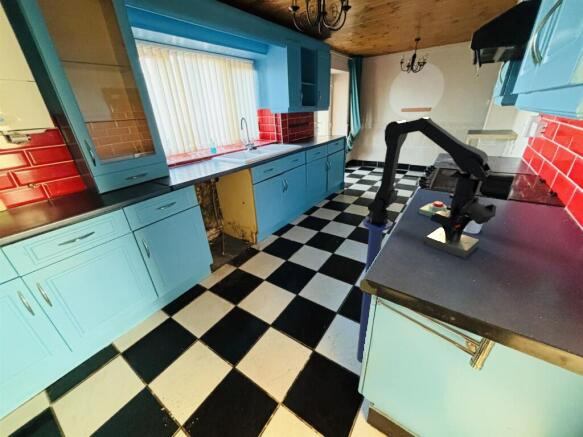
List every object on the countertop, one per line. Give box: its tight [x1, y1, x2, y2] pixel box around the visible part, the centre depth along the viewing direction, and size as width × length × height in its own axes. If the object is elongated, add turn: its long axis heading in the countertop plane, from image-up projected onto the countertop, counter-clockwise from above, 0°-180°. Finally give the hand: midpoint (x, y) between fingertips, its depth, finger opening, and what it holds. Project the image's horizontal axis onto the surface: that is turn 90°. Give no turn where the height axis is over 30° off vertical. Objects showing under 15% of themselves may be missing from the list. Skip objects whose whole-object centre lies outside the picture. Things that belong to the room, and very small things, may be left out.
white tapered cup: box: [463, 220, 484, 234], centre depth 88 cm, size 7×7×7 cm
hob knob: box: [445, 225, 464, 241], centre depth 79 cm, size 4×4×4 cm
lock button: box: [433, 200, 445, 208], centre depth 102 cm, size 4×4×2 cm
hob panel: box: [425, 227, 480, 259], centre depth 80 cm, size 12×10×3 cm
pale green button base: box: [418, 202, 450, 218], centre depth 103 cm, size 11×9×4 cm
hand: (452, 236), depth 80 cm, fingers closed on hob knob, 4 cm apart
